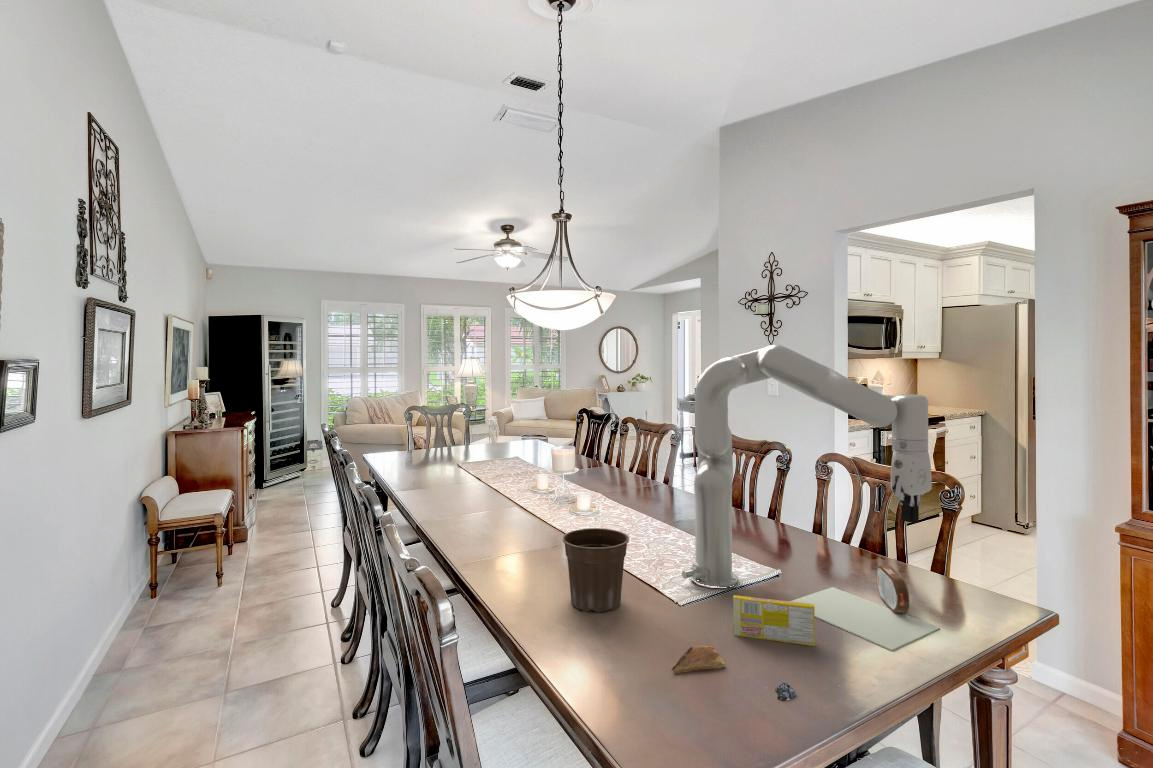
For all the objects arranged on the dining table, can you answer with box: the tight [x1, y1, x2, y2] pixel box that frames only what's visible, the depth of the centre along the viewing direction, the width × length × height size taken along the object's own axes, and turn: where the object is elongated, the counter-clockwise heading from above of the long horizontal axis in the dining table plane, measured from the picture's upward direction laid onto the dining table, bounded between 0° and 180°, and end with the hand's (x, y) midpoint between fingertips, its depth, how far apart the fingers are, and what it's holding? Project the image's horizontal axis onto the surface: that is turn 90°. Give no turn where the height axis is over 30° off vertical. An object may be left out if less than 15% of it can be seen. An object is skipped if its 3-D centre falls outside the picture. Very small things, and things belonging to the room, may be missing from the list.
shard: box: [671, 645, 726, 674], centre depth 111 cm, size 11×8×2 cm
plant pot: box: [562, 527, 630, 613], centre depth 138 cm, size 16×16×16 cm
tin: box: [876, 564, 910, 615], centre depth 134 cm, size 15×3×8 cm, turn 168°
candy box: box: [732, 594, 816, 647], centre depth 119 cm, size 16×2×8 cm, turn 71°
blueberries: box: [765, 682, 797, 702], centre depth 100 cm, size 7×8×2 cm
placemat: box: [790, 586, 941, 652], centre depth 129 cm, size 18×26×1 cm
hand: (910, 521), depth 136 cm, fingers closed
